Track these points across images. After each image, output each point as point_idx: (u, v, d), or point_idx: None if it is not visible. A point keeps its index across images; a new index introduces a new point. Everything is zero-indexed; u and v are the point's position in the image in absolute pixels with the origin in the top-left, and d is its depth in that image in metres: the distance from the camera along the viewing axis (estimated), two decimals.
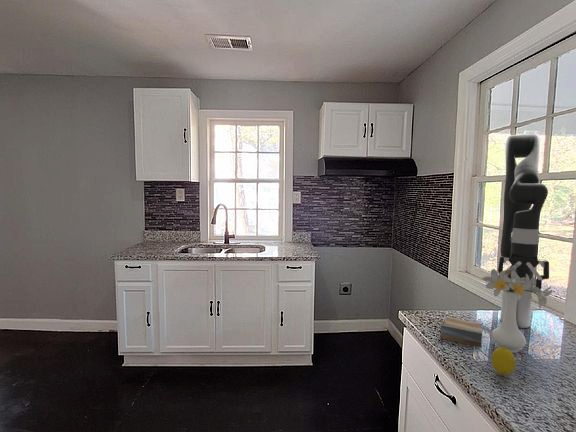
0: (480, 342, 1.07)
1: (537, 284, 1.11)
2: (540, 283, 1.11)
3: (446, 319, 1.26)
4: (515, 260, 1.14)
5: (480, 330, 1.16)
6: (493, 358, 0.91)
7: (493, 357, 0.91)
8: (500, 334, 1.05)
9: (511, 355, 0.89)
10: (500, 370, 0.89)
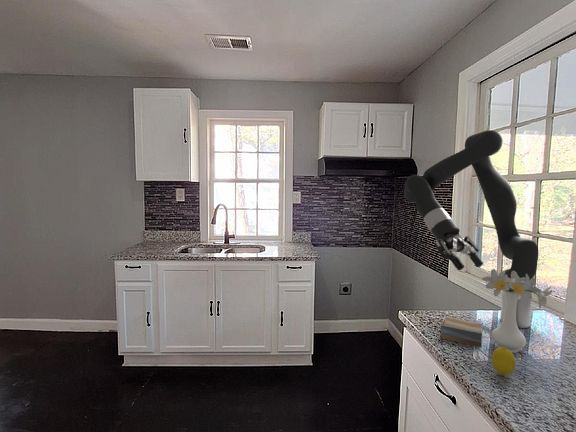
0: (480, 342, 1.07)
1: (478, 257, 1.01)
2: (478, 257, 1.02)
3: (446, 319, 1.26)
4: (449, 239, 1.03)
5: (480, 330, 1.16)
6: (493, 358, 0.91)
7: (493, 357, 0.91)
8: (500, 334, 1.05)
9: (511, 355, 0.89)
10: (500, 370, 0.89)
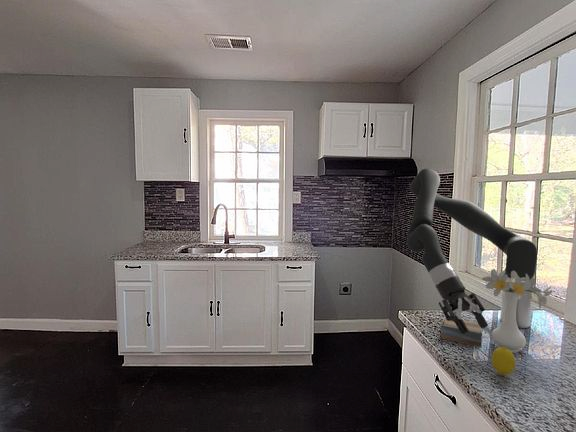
0: (480, 342, 1.07)
1: (483, 319, 1.00)
2: (483, 317, 1.01)
3: (446, 319, 1.26)
4: (454, 299, 1.01)
5: (480, 330, 1.16)
6: (493, 358, 0.91)
7: (493, 357, 0.91)
8: (500, 334, 1.05)
9: (511, 355, 0.89)
10: (500, 370, 0.89)
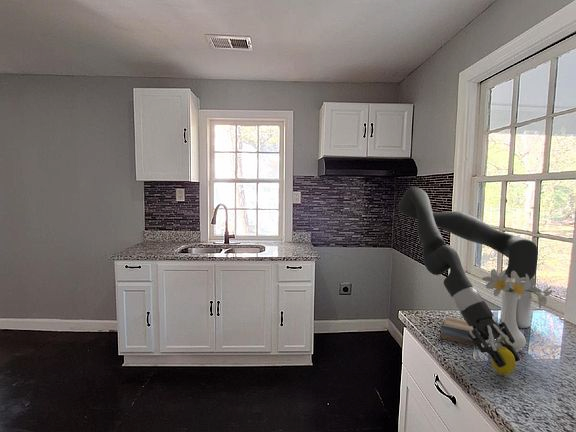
0: None
1: (514, 352, 0.91)
2: (514, 350, 0.92)
3: (446, 319, 1.26)
4: (482, 326, 0.93)
5: None
6: None
7: None
8: None
9: (511, 355, 0.89)
10: (500, 370, 0.89)
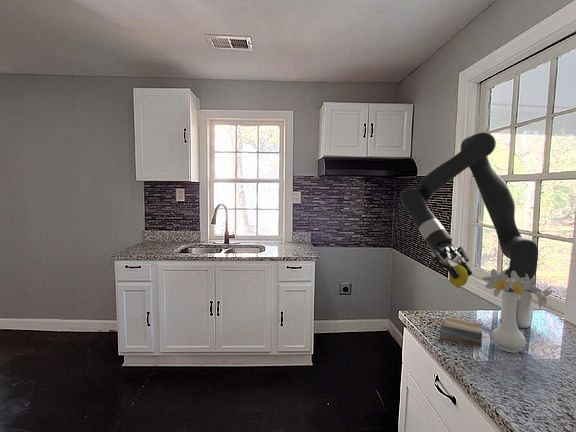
0: (480, 342, 1.07)
1: (467, 267, 1.09)
2: (468, 267, 1.10)
3: (446, 319, 1.26)
4: (442, 248, 1.11)
5: (480, 330, 1.16)
6: None
7: None
8: (500, 334, 1.05)
9: (464, 269, 1.07)
10: (455, 282, 1.07)
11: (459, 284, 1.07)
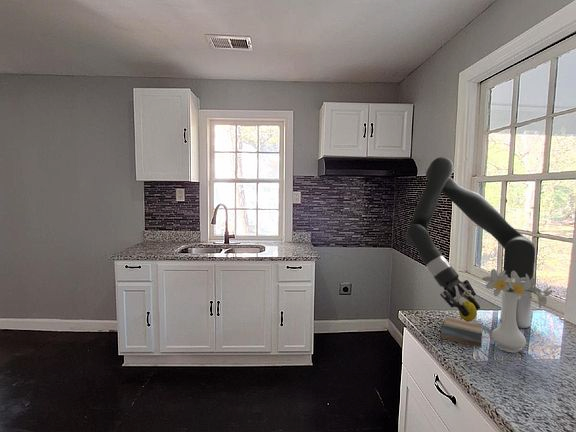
0: (480, 342, 1.07)
1: (475, 302, 1.17)
2: (475, 301, 1.18)
3: (446, 319, 1.26)
4: (451, 286, 1.18)
5: (480, 330, 1.16)
6: None
7: None
8: (500, 334, 1.05)
9: (473, 306, 1.15)
10: (466, 319, 1.16)
11: (469, 320, 1.15)
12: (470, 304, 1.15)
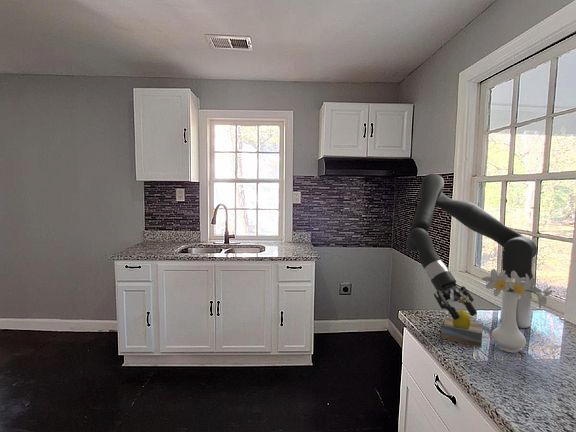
0: (480, 342, 1.07)
1: (472, 307, 1.15)
2: (472, 306, 1.16)
3: (446, 319, 1.26)
4: (447, 290, 1.17)
5: (480, 330, 1.16)
6: (453, 319, 1.14)
7: (453, 318, 1.14)
8: (500, 334, 1.05)
9: (467, 315, 1.12)
10: None
11: None
12: (464, 313, 1.13)
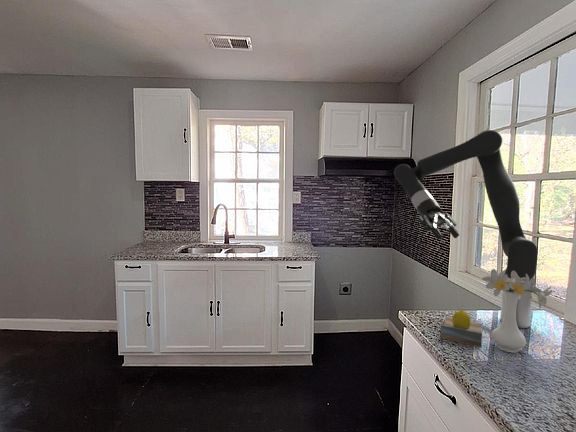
0: (480, 342, 1.07)
1: (455, 230, 1.22)
2: (455, 229, 1.22)
3: (446, 319, 1.26)
4: (431, 215, 1.23)
5: (480, 330, 1.16)
6: (453, 319, 1.14)
7: (453, 318, 1.14)
8: (500, 334, 1.05)
9: (467, 315, 1.12)
10: None
11: None
12: (464, 313, 1.13)
